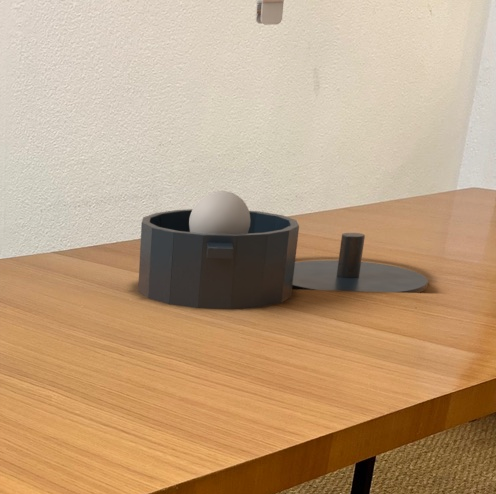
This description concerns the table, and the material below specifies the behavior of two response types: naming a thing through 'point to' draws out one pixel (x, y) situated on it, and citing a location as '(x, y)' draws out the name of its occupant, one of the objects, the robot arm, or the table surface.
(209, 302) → the pot
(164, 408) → the table surface
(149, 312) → the table surface
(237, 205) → the lightbulb
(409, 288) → the pot lid
